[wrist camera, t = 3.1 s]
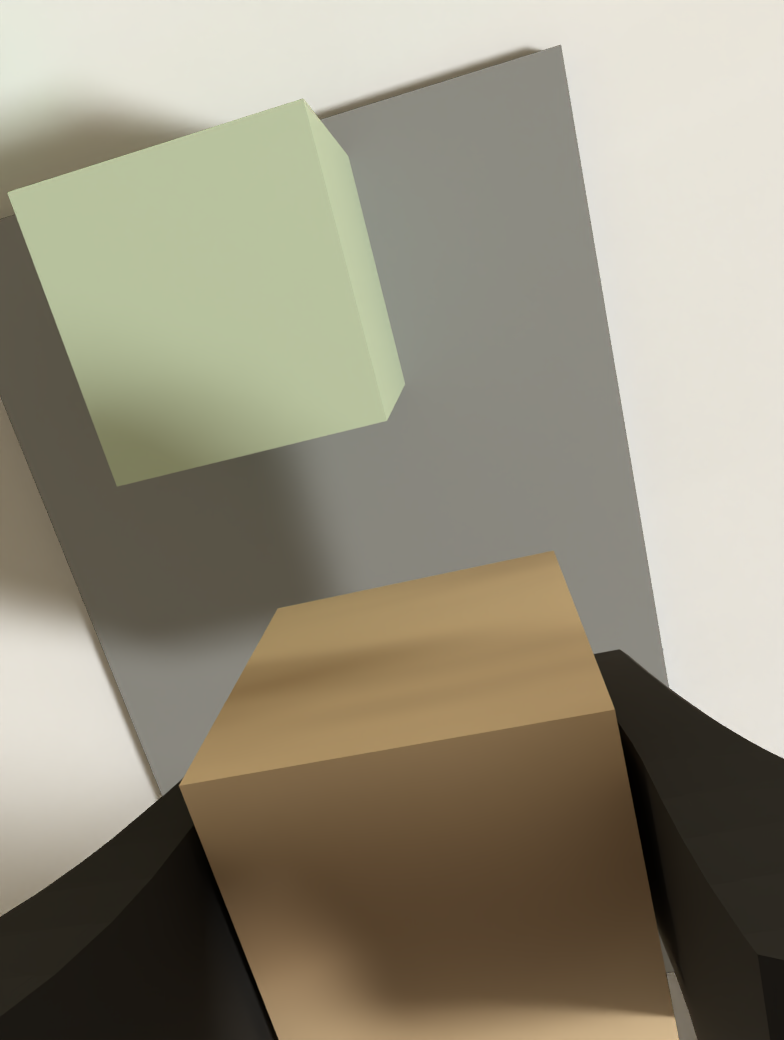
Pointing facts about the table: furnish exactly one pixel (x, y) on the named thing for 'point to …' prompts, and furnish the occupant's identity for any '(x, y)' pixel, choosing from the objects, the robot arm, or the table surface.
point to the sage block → (216, 293)
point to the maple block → (433, 819)
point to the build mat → (378, 447)
